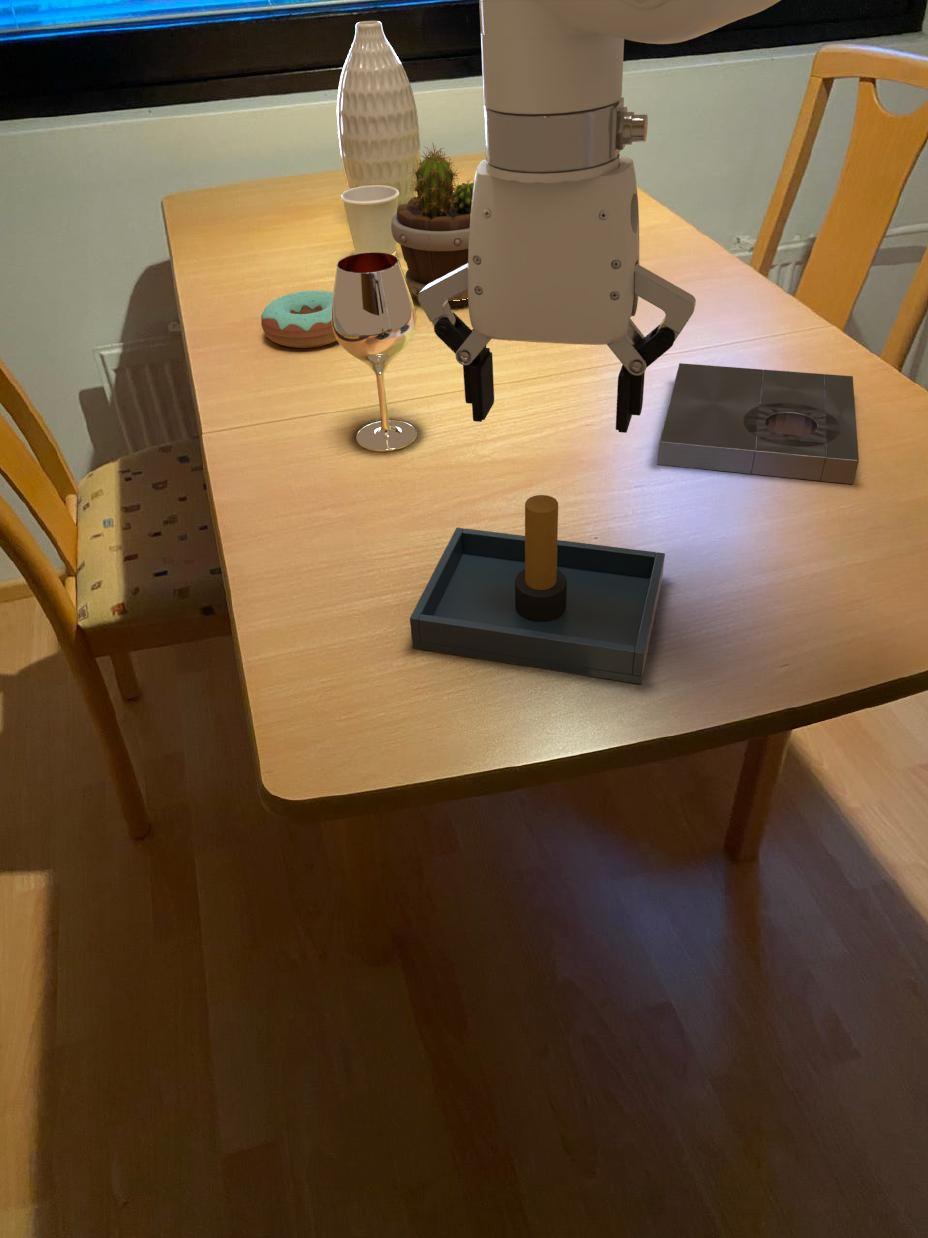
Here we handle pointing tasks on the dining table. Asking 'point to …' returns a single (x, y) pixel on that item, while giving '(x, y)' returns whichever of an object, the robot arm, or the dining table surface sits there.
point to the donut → (300, 319)
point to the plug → (541, 564)
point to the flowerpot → (434, 225)
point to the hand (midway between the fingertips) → (552, 417)
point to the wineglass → (375, 331)
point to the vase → (377, 115)
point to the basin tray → (574, 642)
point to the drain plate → (761, 423)
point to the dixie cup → (371, 217)
